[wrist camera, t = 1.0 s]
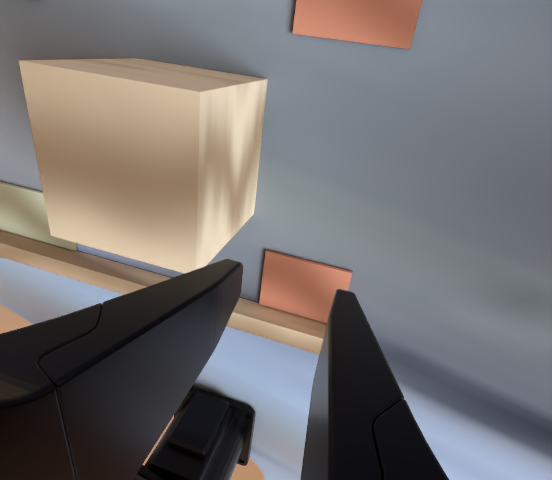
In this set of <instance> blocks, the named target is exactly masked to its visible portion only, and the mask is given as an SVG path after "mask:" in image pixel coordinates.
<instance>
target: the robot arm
mask: <svg viewBox="0 0 552 480" xmlns="http://www.w3.org/2000/svg"><path fill="white" fill-rule="evenodd" d="M242 274H243V265H242V263H240V262H237V261H234V260H230V259H225V260H222V261H219V262H216V263H213V264H211V265H208V266H205V267H202V268H199V269H196V270H193V271H191V272H188V273H185V274H182V275H179V276H176V277H174V278H171V279H168V280H165V281H162V282H159V283H156V284H154V285H151V286H148V287H145V288H142V289H139V290H136V291H134V292H131V293H128V294H125V295H122V296H119V297H117V298H114V299H111V300H108V301H105V302H103V305H102V304H101V303H99V304H96V305H94V306H91V307H88V308H85V309H82V310H79V311H76V312H73V313H70V314H67V315H64V316H61V317H58V318H55V319H51V320H48V321H44V322H41V323H37V324H34V325H31V326H28V327H24V328H20V329H17V330H13V331H10V332H6V333H2V334H0V480H230V478H231V476H232V473H233V471H234V468H235V466H236V463H237V464H240V465H247V463H248V460H249V456H250V449H251V442H252V435H253V428H254V421H255V411H254V410H253V409H252V408H250V407H248V406H245V405H242V404H239V403H236V402H233V401H231V400H228V399H225V398H222V397H219V396H216V395H213V394H210V393H208V392H205V391H202V390H199V389H196V388H193V387H192V385H193V384H194V382H195V380H196V379H197V377H198V376H199V374H200V373H201V371H202V369H203V368H204V366H205V365H206V363H207V361H208V360H209V358H210V357H211V355H212V353H213V352H214V350H215V348H216V346H217V344H218V342H219V340H220V338H221V336H222V334H223V331H224V329H225V327H226V325H227V323H228V321H229V319H230V317H231V315H232V312H233V310H234V308H235V306H236V304H237V302H238V300H239V297H240V293H241V285H242ZM173 415H174V419H173V421H172V423H171V424H170V426H169V427H168V429H167V430H166V432H165V434H164V435H163V437H162V438H161V440H160V442H159V443H158V445H157V446H156V448H155V450H154V451H153V453H152V454H151V456H150V458H149V459H148V461H147V462H146V464H145V465H142V464H143V463H144V461H145V459H146V458H147V456H148V455H149V453H150V452H151V450H152V448H153V447H154V445H155V444H156V442H157V440H158V439H159V437H160V436H161V434H162V433H163V431H164V429H165V428H166V426H167V425H168V423H169V421H170V420H171V418H172V416H173ZM301 480H449V479H448V477H447V476H446V474H445V472H444V471H443V469H442V467H441V466H440V464H439V462H438V460H437V459H436V457H435V455H434V454H433V452H432V450H431V449H430V447H429V445H428V443H427V442H426V440H425V438H424V436H423V434H422V432H421V430H420V428H419V426H418V424H417V423H416V421H415V419H414V417H413V415H412V413H411V411H410V408H409V406H408V404H407V402H406V400H404V396H403V394H402V392H401V390H400V388H399V386H398V384H397V381H396V379H395V377H394V375H393V373H392V371H391V369H390V367H389V365H388V363H387V360H386V358H385V356H384V354H383V352H382V350H381V348H380V346H379V344H378V342H377V340H376V337H375V335H374V333H373V331H372V329H371V327H370V325H369V323H368V321H367V319H366V317H365V314H364V312H363V310H362V308H361V306H360V304H359V302H358V300H357V298H356V296H355V294H354V293H353V292H349V291H346V290H342V289H337V290H336V292H335V296H334V299H333V302H332V306H331V309H330V312H329V317H328V321H327V325H326V329H325V333H324V338H323V342H322V346H321V350H320V355H319V359H318V363H317V367H316V371H315V376H314V380H313V386H312V393H311V401H310V409H309V417H308V425H307V433H306V441H305V449H304V457H303V465H302V473H301Z"/></svg>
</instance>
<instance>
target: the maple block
mask: <svg viewBox="0 0 552 480" xmlns="http://www.w3.org/2000/svg"><path fill="white" fill-rule="evenodd" d="M19 65H20V71H21V76H22V82H23V87H24V92H25V98H26V103H27V109H28V114H29V120H30V125H31V130H32V136H33V141H34V147H35V152H36V158H37V163H38V168H39V174H40V179H41V185H42V190H43V196H44V201H45V207H46V212H47V217H48V223H49V228H50V234H51V236H54V237H57V238H61V239H64V240H68V241H71V242H75V243H78V244H82V245H86V246H89V247H93V248H96V249H100V250H103V251H107V252H110V253H114V254H117V255H121V256H125V257H128V258H132V259H135V260H139V261H142V262H146V263H149V264H153V265H156V266H160V267H164V268H167V269H171V270H174V271H178V272H181V273H188V272H191V271H193V270H196V269H199V268H202V267H205V266H206V265H207V264H208V263H209V262H210V261H211V260H212V259H213V258H214V257H215V255H216V254H217V253H218V252H219V251H220V250H221V249H222V248H223V247H224V246H225V245H226V244H227V242H228V241H229V240H230V239H231V238H232V237H233V236H234V235H235V234H236V233H237V232H238V231H239V229H240V228H241V227H242V226H243V225H244V224H245V223H246V222H247V221H248V220H249V219H250V218H251V216H252V215H253V214H254V208H255V198H256V188H257V178H258V168H259V158H260V148H261V138H262V128H263V118H264V108H265V99H266V89H267V79H264V78H258V77H251V76H245V75H239V74H233V73H226V72H220V71H214V70H208V69H201V68H195V67H189V66H183V65H176V64H170V63H164V62H158V61H151V60H145V59H139V58H123V59H70V60H19Z"/></svg>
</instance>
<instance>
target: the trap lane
mask: <svg viewBox="0 0 552 480" xmlns="http://www.w3.org/2000/svg"><path fill="white" fill-rule="evenodd" d="M421 3H422V0H296V8H295V16H294V25H293V33H292V34H299V35H307V36H314V37H322V38H329V39H337V40H344V41H352V42H359V43H367V44H375V45H382V46H390V47H397V48H405V49H410V46H411V42H412V38H413V34H414V30H415V26H416V23H417V19H418V15H419V11H420V7H421ZM76 250H77V244H76V243H75V242H71V241H68V240H64V239H61V238H57V237H54V236H51V234H50V228H49V223H48V217H47V212H46V207H45V201H44V196H43V192H40V191H36V190H33V189H29V188H25V187H21V186H17V185H13V184H9V183H5V182H1V181H0V257H3V258H6V259H9V260H13V261H16V262H19V263H23V264H26V265H29V266H32V267H36V268H39V269H42V270H45V271H49V272H52V273H55V274H58V275H62V276H65V277H68V278H71V279H75V280H78V281H81V282H85V283H88V284H91V285H94V286H98V287H101V288H104V289H107V290H111V291H114V292H117V293H120V294H124V295H125V294H128V293H131V292H134V291H136V290H139V289H142V288H145V287H148V286H151V285H154V284H156V283H159V282H162V281H165V280H168V279H171V278H170V277H167V276H163V275H160V274H156V273H153V272H149V271H146V270H142V269H139V268H135V267H132V266H128V265H125V264H121V263H118V262H114V261H111V260H107V259H104V258H101V257H97V256H94V255H90V254H87V253H83V252H80V251H76ZM351 276H352V271H348V270H345V269H341V268H337V267H333V266H329V265H325V264H321V263H317V262H313V261H309V260H306V259H302V258H298V257H294V256H290V255H286V254H282V253H278V252H274V251H270V250H266V252H265V260H264V268H263V276H262V285H261V293H260V301H259V303H257V302H253V301H250V300H246V299H243V298H239V300H238V302H237V304H236V306H235V308H234V310H233V312H232V315H231V317H230V319H229V321H228V323H227V325H226V326H228V327H231V328H235V329H238V330H241V331H244V332H248V333H251V334H254V335H257V336H261V337H264V338H267V339H271V340H274V341H277V342H280V343H284V344H287V345H290V346H293V347H297V348H300V349H303V350H306V351H310V352H313V353H316V354H319V355H320V350H321V346H322V342H323V338H324V333H325V329H326V325H327V321H328V317H329V312H330V309H331V306H332V302H333V299H334V296H335V292H336V290H337V289H342V290H346V291H348V288H349V284H350V280H351Z"/></svg>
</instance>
